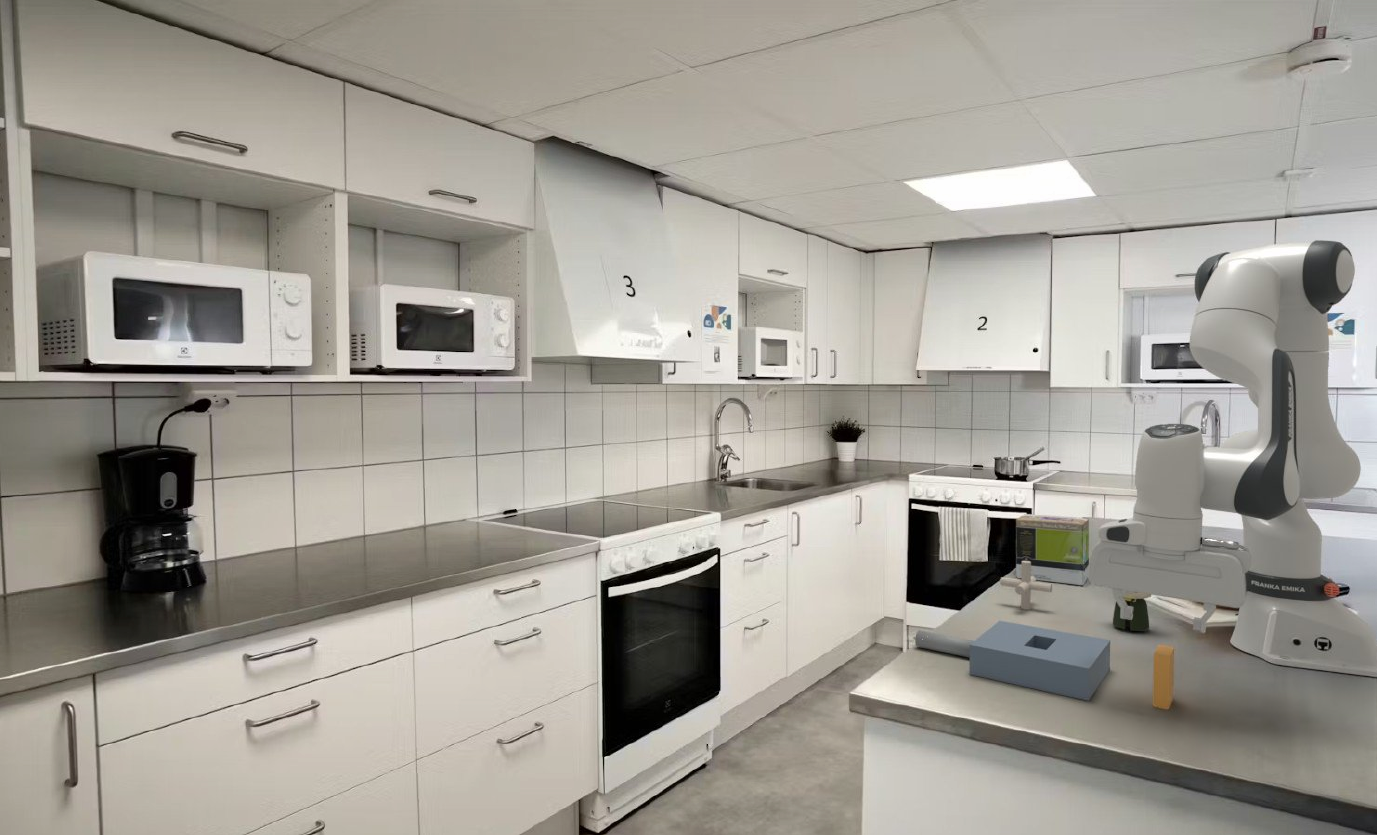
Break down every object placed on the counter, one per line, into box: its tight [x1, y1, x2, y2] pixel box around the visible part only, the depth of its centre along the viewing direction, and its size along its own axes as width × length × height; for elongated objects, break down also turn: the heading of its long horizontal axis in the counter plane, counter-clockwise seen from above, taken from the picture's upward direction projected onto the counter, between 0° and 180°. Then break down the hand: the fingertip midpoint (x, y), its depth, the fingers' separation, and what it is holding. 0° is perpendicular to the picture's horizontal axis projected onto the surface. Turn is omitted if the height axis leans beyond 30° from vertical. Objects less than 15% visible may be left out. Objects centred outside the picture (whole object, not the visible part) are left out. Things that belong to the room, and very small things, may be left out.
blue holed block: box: [914, 620, 1111, 701], centre depth 136 cm, size 30×16×5 cm, turn 52°
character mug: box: [1110, 588, 1152, 632], centre depth 153 cm, size 11×7×13 cm, turn 50°
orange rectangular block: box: [1152, 644, 1175, 710], centre depth 119 cm, size 5×2×8 cm, turn 142°
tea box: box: [1015, 513, 1090, 586], centre depth 192 cm, size 15×10×15 cm, turn 56°
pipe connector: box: [999, 561, 1053, 611], centre depth 167 cm, size 10×10×10 cm
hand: (1161, 624), depth 119 cm, fingers open, 8 cm apart
